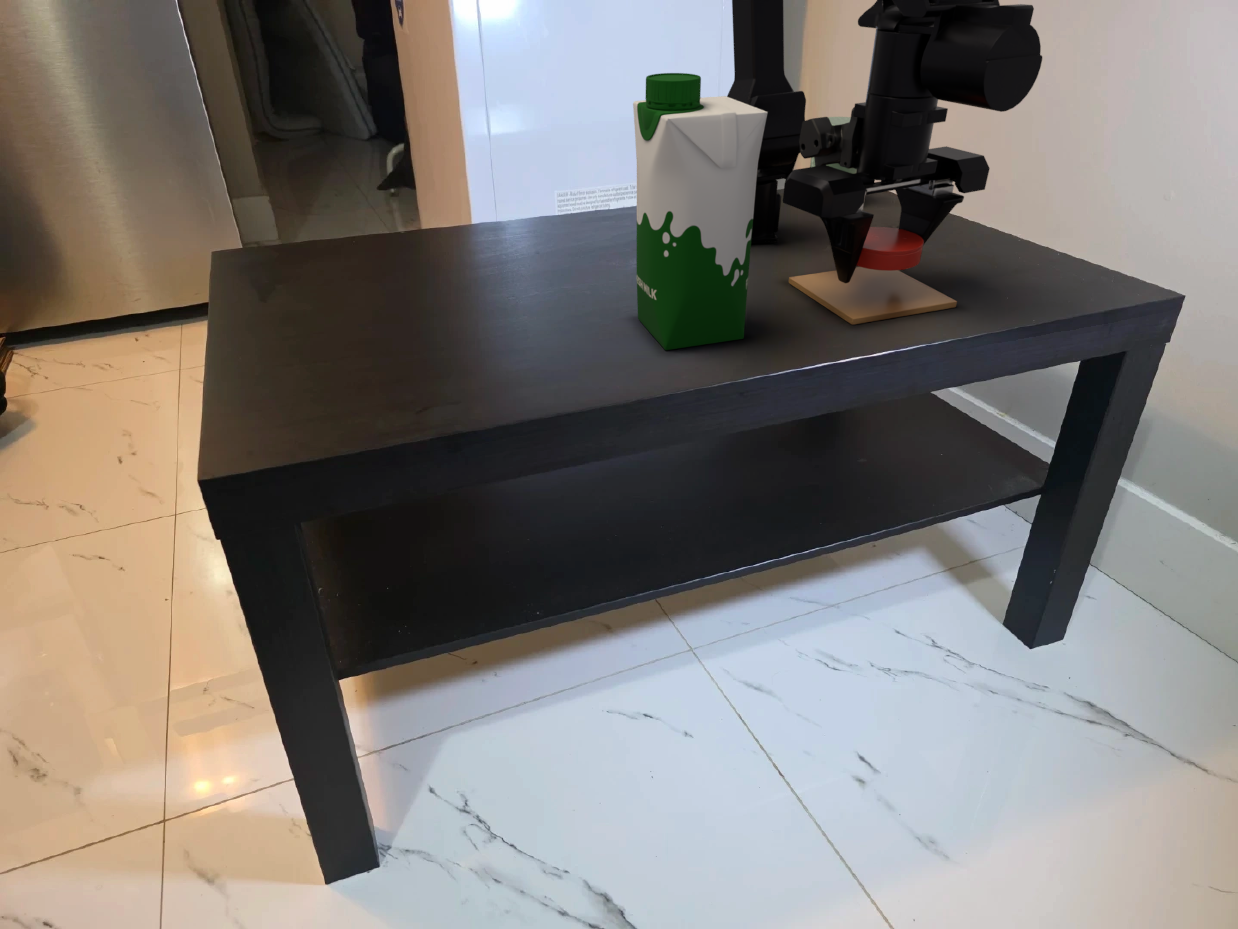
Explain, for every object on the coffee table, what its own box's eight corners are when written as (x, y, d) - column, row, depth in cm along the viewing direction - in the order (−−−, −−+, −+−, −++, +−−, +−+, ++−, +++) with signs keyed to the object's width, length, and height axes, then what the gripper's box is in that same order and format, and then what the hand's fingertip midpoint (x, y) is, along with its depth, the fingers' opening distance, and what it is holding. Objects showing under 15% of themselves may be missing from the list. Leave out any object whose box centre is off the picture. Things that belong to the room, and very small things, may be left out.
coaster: (852, 325, 71) (853, 318, 70) (788, 282, 79) (788, 276, 79) (956, 307, 74) (957, 301, 73) (883, 268, 82) (884, 262, 82)
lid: (884, 240, 78) (887, 222, 77) (937, 262, 73) (941, 242, 72) (827, 252, 75) (829, 234, 74) (877, 275, 70) (880, 256, 69)
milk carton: (624, 316, 73) (623, 70, 62) (717, 304, 75) (732, 64, 64) (658, 357, 66) (663, 87, 55) (760, 341, 68) (784, 79, 57)
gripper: (915, 72, 76) (886, 236, 85) (752, 88, 69) (739, 266, 78) (1012, 88, 68) (970, 268, 77) (839, 109, 61) (814, 305, 70)
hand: (872, 275), depth 75 cm, fingers closed on lid, 6 cm apart
